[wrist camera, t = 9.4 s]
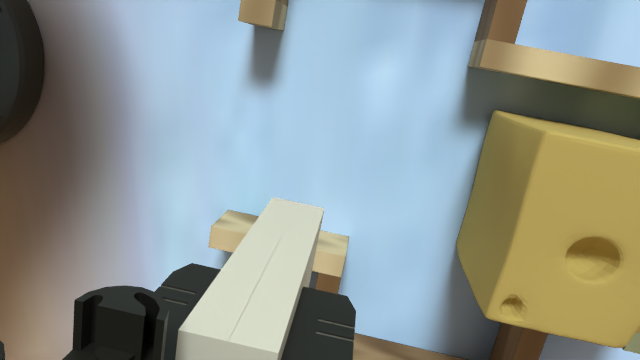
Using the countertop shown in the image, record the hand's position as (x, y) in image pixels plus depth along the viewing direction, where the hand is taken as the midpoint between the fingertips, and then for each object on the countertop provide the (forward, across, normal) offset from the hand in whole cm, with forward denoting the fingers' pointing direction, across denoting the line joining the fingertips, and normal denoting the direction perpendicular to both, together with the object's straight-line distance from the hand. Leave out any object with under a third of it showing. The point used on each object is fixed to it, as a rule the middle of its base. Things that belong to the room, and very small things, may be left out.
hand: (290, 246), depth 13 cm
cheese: (+19, +14, -1) cm, 24 cm away
